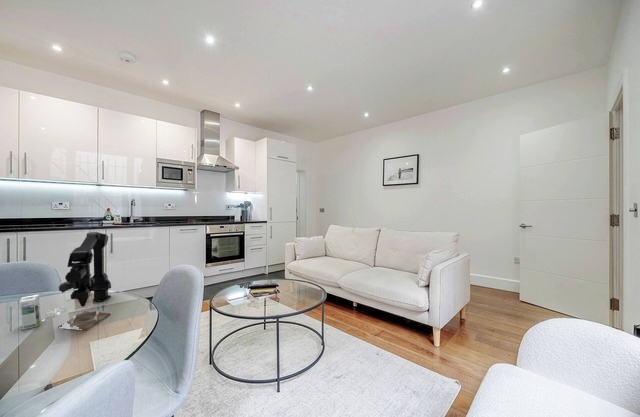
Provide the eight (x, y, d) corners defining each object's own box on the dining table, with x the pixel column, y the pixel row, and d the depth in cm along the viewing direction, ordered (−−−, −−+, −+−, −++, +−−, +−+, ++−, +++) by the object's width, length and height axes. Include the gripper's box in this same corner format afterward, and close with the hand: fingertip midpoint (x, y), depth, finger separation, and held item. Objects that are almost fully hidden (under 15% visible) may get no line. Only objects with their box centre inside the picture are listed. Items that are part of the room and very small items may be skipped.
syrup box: (22, 330, 122) (19, 301, 120) (24, 324, 126) (21, 296, 124) (39, 326, 126) (37, 298, 124) (41, 320, 130) (39, 293, 128)
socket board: (84, 312, 139) (84, 308, 138) (110, 314, 139) (110, 310, 138) (58, 328, 125) (57, 323, 125) (86, 331, 125) (86, 326, 124)
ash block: (77, 303, 131) (77, 294, 131) (93, 301, 135) (92, 292, 134) (75, 309, 126) (74, 300, 126) (91, 306, 130) (90, 297, 129)
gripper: (65, 270, 131) (67, 298, 134) (54, 284, 116) (56, 316, 118) (93, 266, 137) (95, 294, 140) (86, 280, 122) (88, 310, 124)
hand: (84, 303), depth 130 cm, fingers closed on ash block, 6 cm apart
